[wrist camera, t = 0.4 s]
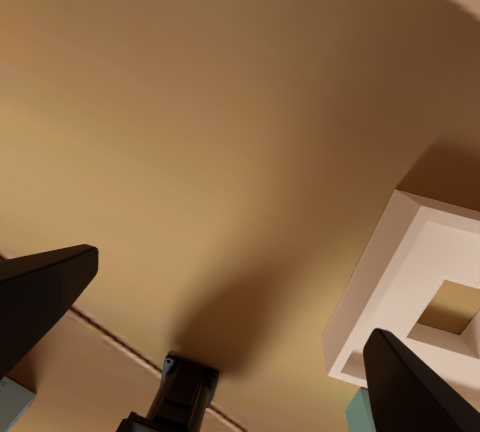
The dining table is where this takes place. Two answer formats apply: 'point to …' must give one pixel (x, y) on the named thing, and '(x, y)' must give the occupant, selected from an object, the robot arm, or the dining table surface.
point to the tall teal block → (360, 413)
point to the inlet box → (410, 292)
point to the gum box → (13, 402)
